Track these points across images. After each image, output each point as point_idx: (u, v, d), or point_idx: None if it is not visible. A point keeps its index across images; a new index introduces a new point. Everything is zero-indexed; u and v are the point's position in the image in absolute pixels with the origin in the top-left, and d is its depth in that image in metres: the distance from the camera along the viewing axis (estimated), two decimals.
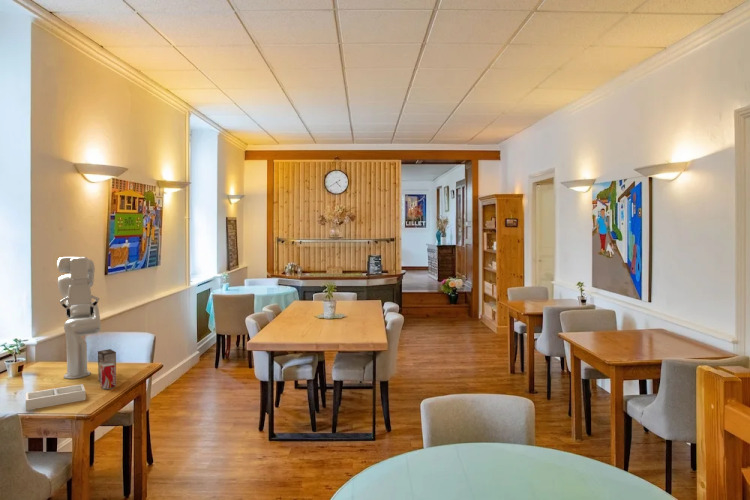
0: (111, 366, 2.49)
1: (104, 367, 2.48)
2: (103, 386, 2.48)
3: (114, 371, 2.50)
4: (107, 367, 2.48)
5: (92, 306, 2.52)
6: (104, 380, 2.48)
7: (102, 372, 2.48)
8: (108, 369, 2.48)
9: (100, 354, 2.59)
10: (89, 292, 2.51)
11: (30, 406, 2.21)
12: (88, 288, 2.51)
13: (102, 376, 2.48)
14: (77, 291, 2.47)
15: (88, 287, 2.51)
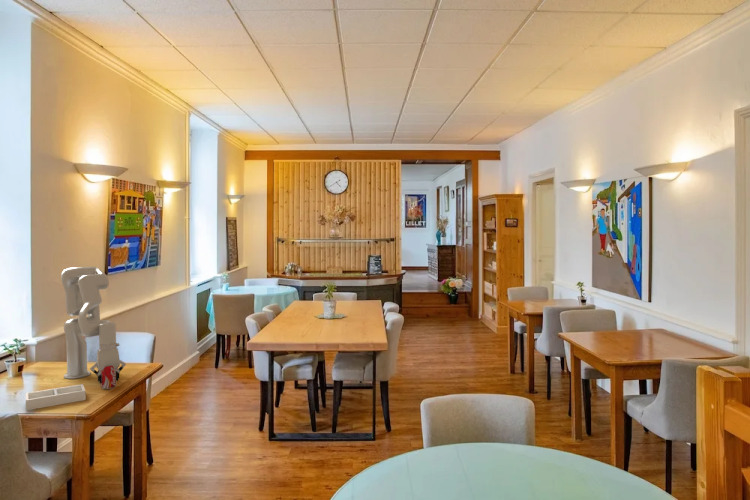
0: (111, 366, 2.49)
1: None
2: (103, 386, 2.48)
3: (114, 371, 2.50)
4: (107, 367, 2.48)
5: (118, 372, 2.52)
6: (104, 380, 2.48)
7: (102, 372, 2.48)
8: (108, 369, 2.48)
9: None
10: (117, 356, 2.51)
11: (30, 406, 2.21)
12: (116, 352, 2.51)
13: (102, 376, 2.48)
14: (105, 356, 2.48)
15: (116, 352, 2.51)
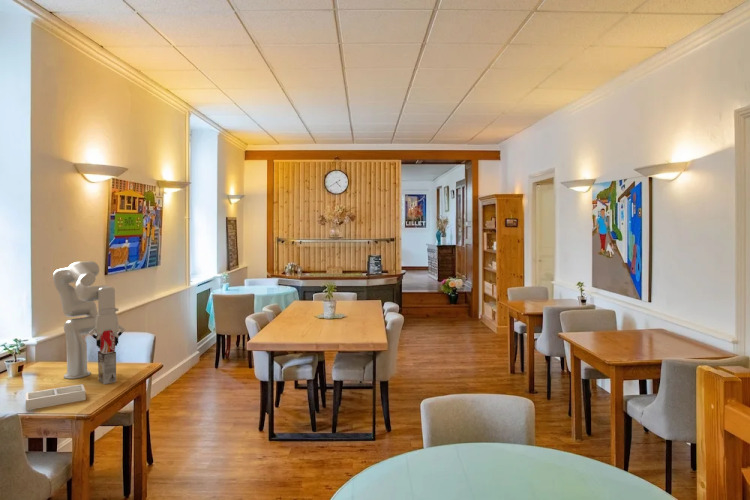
0: (110, 331, 2.49)
1: None
2: (102, 350, 2.47)
3: (113, 336, 2.50)
4: (106, 331, 2.47)
5: (117, 337, 2.52)
6: (103, 345, 2.47)
7: (101, 336, 2.47)
8: (107, 333, 2.47)
9: (100, 354, 2.59)
10: (116, 321, 2.51)
11: (30, 406, 2.21)
12: (115, 317, 2.50)
13: (101, 340, 2.47)
14: (104, 321, 2.47)
15: (115, 317, 2.50)
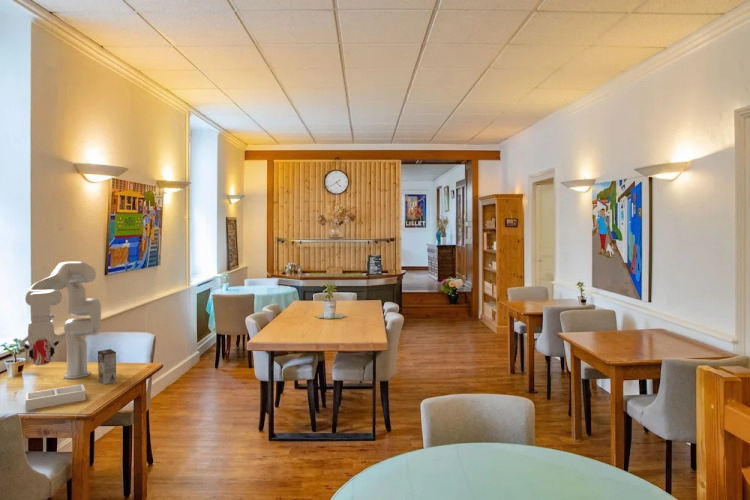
0: (44, 340, 2.26)
1: (36, 341, 2.24)
2: (35, 362, 2.25)
3: (48, 346, 2.27)
4: (39, 341, 2.25)
5: (53, 346, 2.29)
6: (36, 355, 2.24)
7: (34, 346, 2.24)
8: (40, 343, 2.25)
9: (100, 354, 2.59)
10: (52, 330, 2.28)
11: (30, 406, 2.21)
12: (50, 325, 2.28)
13: (34, 351, 2.24)
14: (37, 329, 2.24)
15: (50, 325, 2.28)
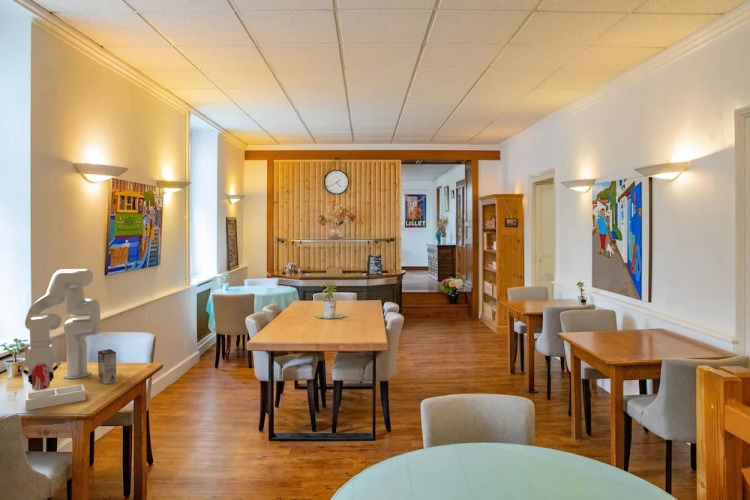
0: (43, 365, 2.26)
1: (35, 366, 2.24)
2: (34, 387, 2.24)
3: (47, 370, 2.27)
4: (38, 366, 2.25)
5: (52, 371, 2.29)
6: (35, 381, 2.24)
7: (33, 372, 2.24)
8: (39, 368, 2.24)
9: (100, 354, 2.59)
10: (51, 354, 2.28)
11: (30, 406, 2.21)
12: (50, 350, 2.28)
13: (33, 376, 2.24)
14: (37, 354, 2.24)
15: (49, 349, 2.28)
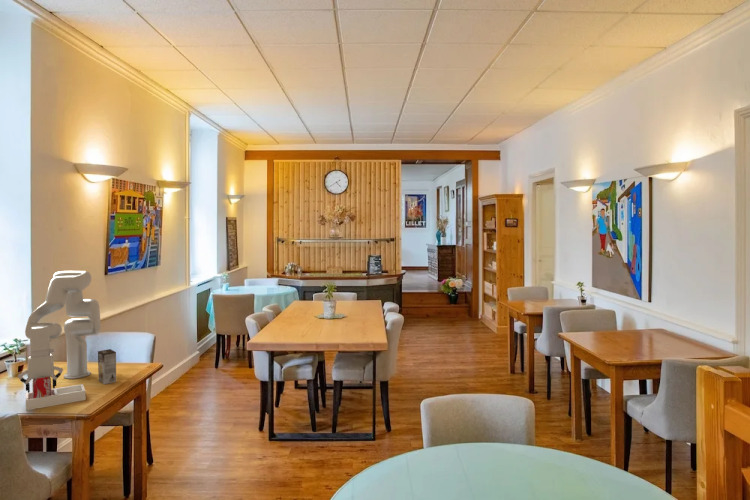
0: (44, 378, 2.26)
1: (36, 379, 2.25)
2: None
3: (48, 383, 2.28)
4: (39, 379, 2.25)
5: (55, 379, 2.30)
6: (36, 393, 2.25)
7: (34, 384, 2.25)
8: (40, 381, 2.25)
9: (100, 354, 2.59)
10: (51, 364, 2.28)
11: (30, 406, 2.21)
12: (50, 359, 2.28)
13: (34, 389, 2.25)
14: (37, 364, 2.25)
15: (50, 359, 2.28)
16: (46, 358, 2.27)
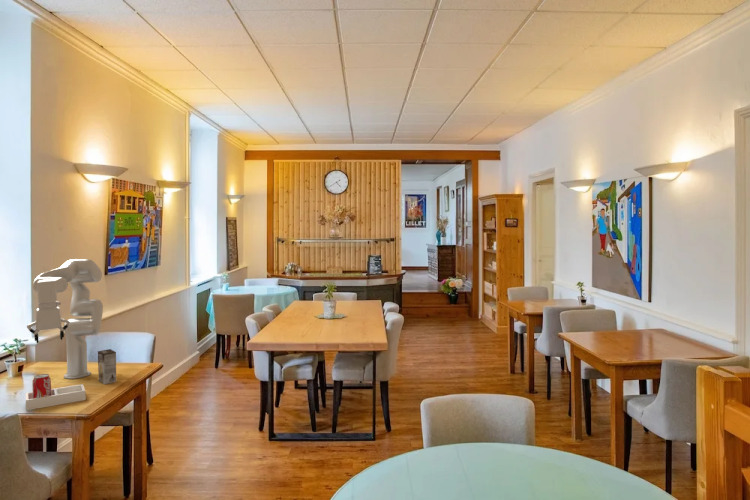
0: (44, 378, 2.26)
1: (36, 379, 2.25)
2: None
3: (48, 383, 2.27)
4: (39, 379, 2.25)
5: (62, 330, 2.39)
6: (36, 393, 2.25)
7: (34, 384, 2.25)
8: (40, 381, 2.25)
9: (100, 354, 2.59)
10: (58, 316, 2.37)
11: (30, 406, 2.21)
12: (57, 312, 2.37)
13: (34, 389, 2.25)
14: (45, 315, 2.34)
15: (57, 311, 2.37)
16: (53, 310, 2.36)
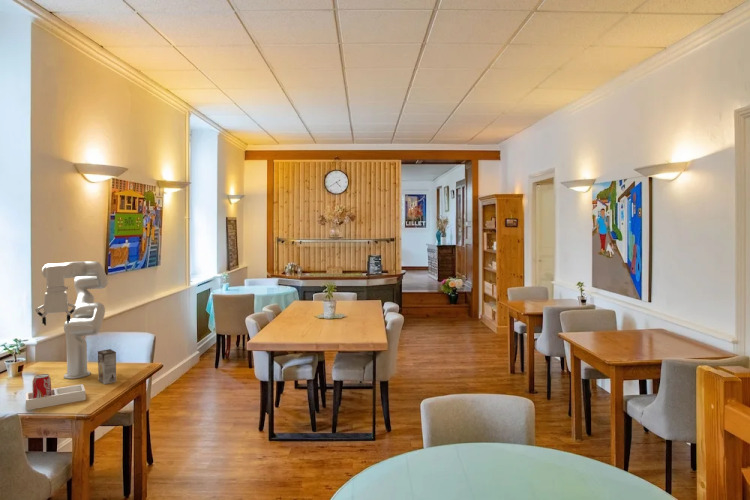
0: (44, 378, 2.26)
1: (36, 379, 2.25)
2: None
3: (48, 383, 2.27)
4: (39, 379, 2.25)
5: (69, 314, 2.48)
6: (36, 393, 2.25)
7: (34, 384, 2.25)
8: (40, 381, 2.25)
9: (100, 354, 2.59)
10: (65, 300, 2.47)
11: (30, 406, 2.21)
12: (64, 296, 2.46)
13: (34, 389, 2.25)
14: (53, 299, 2.43)
15: (64, 295, 2.47)
16: (61, 294, 2.45)
